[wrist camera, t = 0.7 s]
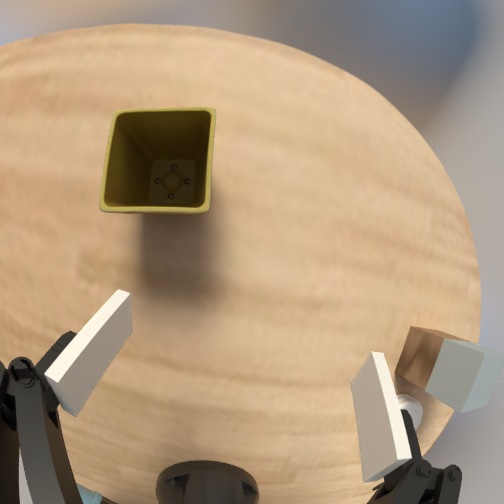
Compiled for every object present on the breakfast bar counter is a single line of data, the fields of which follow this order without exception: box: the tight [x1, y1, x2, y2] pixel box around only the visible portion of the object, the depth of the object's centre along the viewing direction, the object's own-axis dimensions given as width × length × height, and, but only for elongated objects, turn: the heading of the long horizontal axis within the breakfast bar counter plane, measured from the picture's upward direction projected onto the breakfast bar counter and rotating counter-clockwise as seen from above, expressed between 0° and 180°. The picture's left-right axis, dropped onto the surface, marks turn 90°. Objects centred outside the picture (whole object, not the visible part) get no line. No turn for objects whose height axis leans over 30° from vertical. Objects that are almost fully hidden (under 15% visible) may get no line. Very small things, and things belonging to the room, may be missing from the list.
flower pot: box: [99, 107, 216, 215], centre depth 23 cm, size 9×9×9 cm
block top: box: [424, 339, 504, 413], centre depth 22 cm, size 7×7×7 cm
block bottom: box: [395, 326, 470, 390], centre depth 29 cm, size 7×7×7 cm
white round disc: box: [396, 394, 423, 431], centre depth 31 cm, size 10×10×4 cm
